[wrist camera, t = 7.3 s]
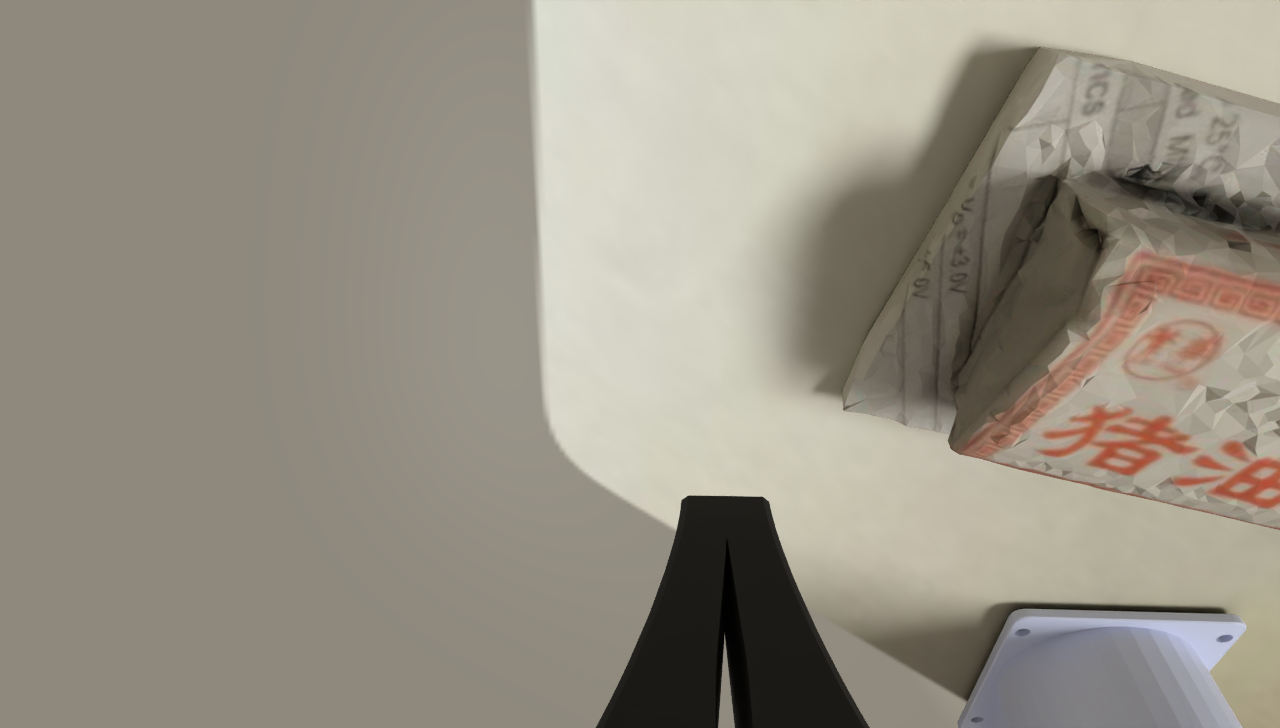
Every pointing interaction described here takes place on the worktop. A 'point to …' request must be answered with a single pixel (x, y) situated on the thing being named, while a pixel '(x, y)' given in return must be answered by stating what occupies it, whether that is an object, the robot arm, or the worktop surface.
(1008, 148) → the packaged product
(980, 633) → the worktop surface
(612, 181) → the worktop surface
